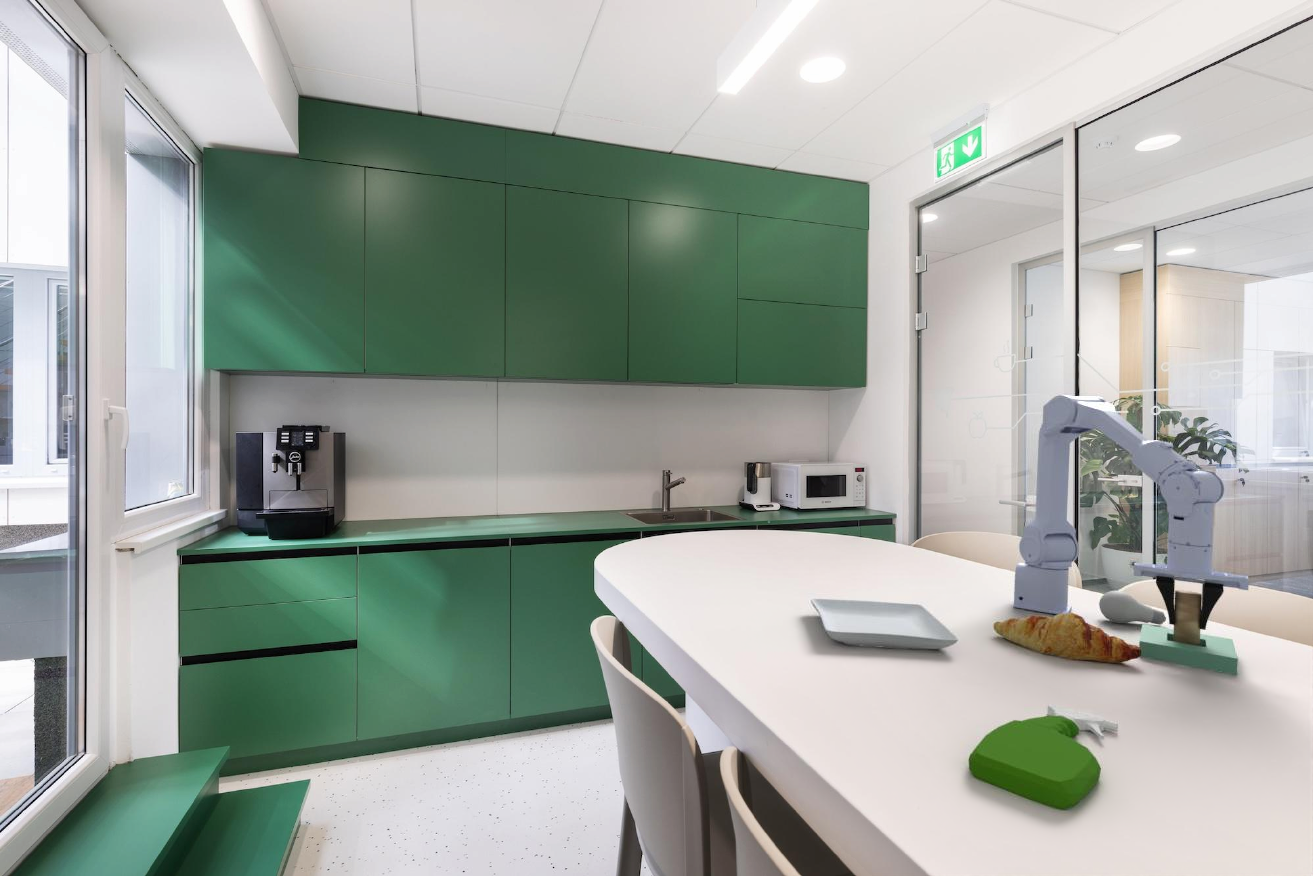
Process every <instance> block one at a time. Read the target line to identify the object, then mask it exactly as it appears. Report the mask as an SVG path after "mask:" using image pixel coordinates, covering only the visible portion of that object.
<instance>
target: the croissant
mask: <svg viewBox="0 0 1313 876" xmlns="http://www.w3.org/2000/svg"><path fill="white" fill-rule="evenodd" d="M993 630H994V632H996V633H997V634H998V635H1000V636H1001V637H1002V638H1004V639H1006V640H1008V641H1010V642H1013V643H1014V644H1017V645H1020V646H1023V647H1024V648H1027V649H1030V650H1033V651H1036V652H1037V653H1040V652H1042V653H1041V654H1045V655H1049V654H1053V655H1052V656H1055V655H1056V656H1055V657H1059V656H1060V658H1063V657H1064V659H1069V658H1071V660H1083V661H1093V660H1094V662H1101V663H1119V664H1120V663H1126V662H1129V661H1130V660H1136V659H1139V658H1140V657H1141V649H1140V647H1139V646H1138V645H1135V644H1129V643H1127V642H1125V640H1124V639H1122V638H1119V637H1117V636H1115V635H1112V636H1110V635H1109V634H1108V633H1106V632H1105V631H1104V630H1103V629H1102V628H1100V627H1097V626H1095V625H1092V624H1090V623H1088V622H1086V620H1085V619H1084V617H1083V616H1080V615H1078V614H1076V613H1074V612H1071V611H1070V612H1069V613H1066V614H1058V615H1057V614H1054V616H1045V615H1029V616H1027V617H1023V618H1018V617H1017V618H1009V619H1006V620H1004V621H997V620H996V621H995V622H994V624H993Z"/></svg>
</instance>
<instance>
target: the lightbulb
mask: <svg viewBox="0 0 1313 876" xmlns="http://www.w3.org/2000/svg"><path fill="white" fill-rule="evenodd" d="M1098 605H1099V610H1100V612H1101V614H1102V616H1104V617H1105V618H1106V619H1107V620H1109V621H1110V622H1112V623H1116V624H1127V623H1134V622H1139V623H1140V622H1141V623H1144V624H1149V623H1151V624H1154V625H1159V626H1160V625H1163V624H1164V623H1165V622H1166V621H1167V617H1166V616H1165V613H1164V612H1163V611H1161V610H1159V609H1154V608H1152V607H1151V606H1149V605H1145V603H1144V604H1143V603H1141V602H1139V601H1138V600H1137V599H1135V598H1134V597H1133V596H1132V595H1130V594H1129V593H1128V592H1125V591H1122V590H1110V591H1108V592H1106V593H1104V594H1103V595H1102V596H1101V597H1100V599H1099V602H1098Z"/></svg>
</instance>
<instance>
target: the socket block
mask: <svg viewBox="0 0 1313 876" xmlns="http://www.w3.org/2000/svg"><path fill="white" fill-rule="evenodd" d="M1139 635H1140V637H1139V646H1138V647H1140V649H1141V656H1140V657H1142V658H1146V659H1152V660H1157V661H1162V662H1163V661H1164V662H1168V663H1171V664H1172V663H1173V664H1178V665H1183V666H1188V667H1194V668H1200V669H1204V670H1210V671H1215V672H1220V673H1226V674H1230V675H1231V674H1232V675H1238V664H1239V662H1238V660H1239V659H1238V655H1237V651H1236V647H1235V645H1234V640H1233V639H1232V638H1228V637H1227V638H1226V637H1221V636H1215V635H1209V634H1204V633H1200V646H1196V645H1190V644H1184V643H1179V642H1173V635H1174V628H1166V627H1161V626H1155V625H1148V624H1145V623H1144V624H1142V625H1141V630H1140V634H1139Z"/></svg>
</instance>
